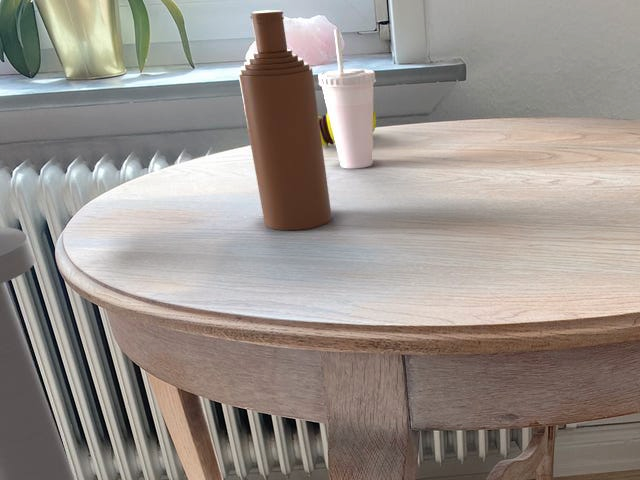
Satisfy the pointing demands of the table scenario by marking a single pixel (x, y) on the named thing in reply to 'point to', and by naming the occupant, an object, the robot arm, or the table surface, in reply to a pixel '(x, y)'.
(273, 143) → the bottle
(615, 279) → the table surface
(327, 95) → the smoothie
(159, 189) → the table surface
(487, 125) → the table surface
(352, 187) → the table surface
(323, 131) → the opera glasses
